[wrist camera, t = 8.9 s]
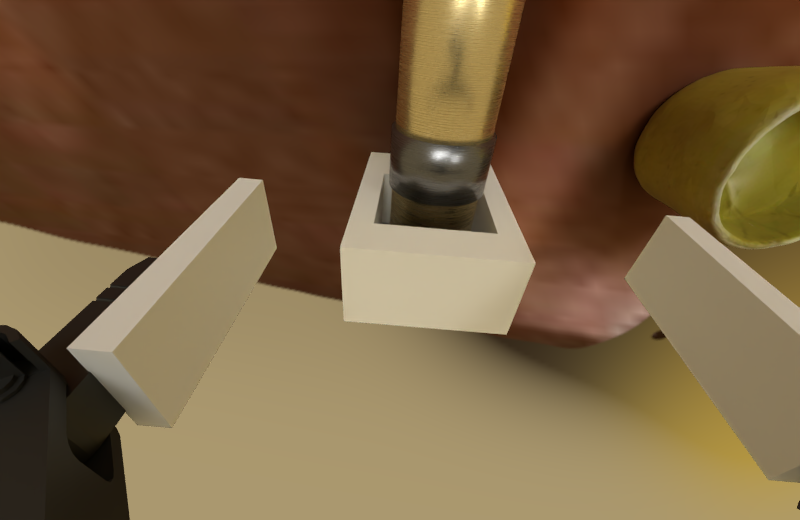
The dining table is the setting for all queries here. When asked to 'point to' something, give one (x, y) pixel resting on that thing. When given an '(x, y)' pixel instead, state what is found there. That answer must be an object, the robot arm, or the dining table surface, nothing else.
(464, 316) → the socket block
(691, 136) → the mug
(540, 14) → the dining table surface
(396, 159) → the tube
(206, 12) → the dining table surface
